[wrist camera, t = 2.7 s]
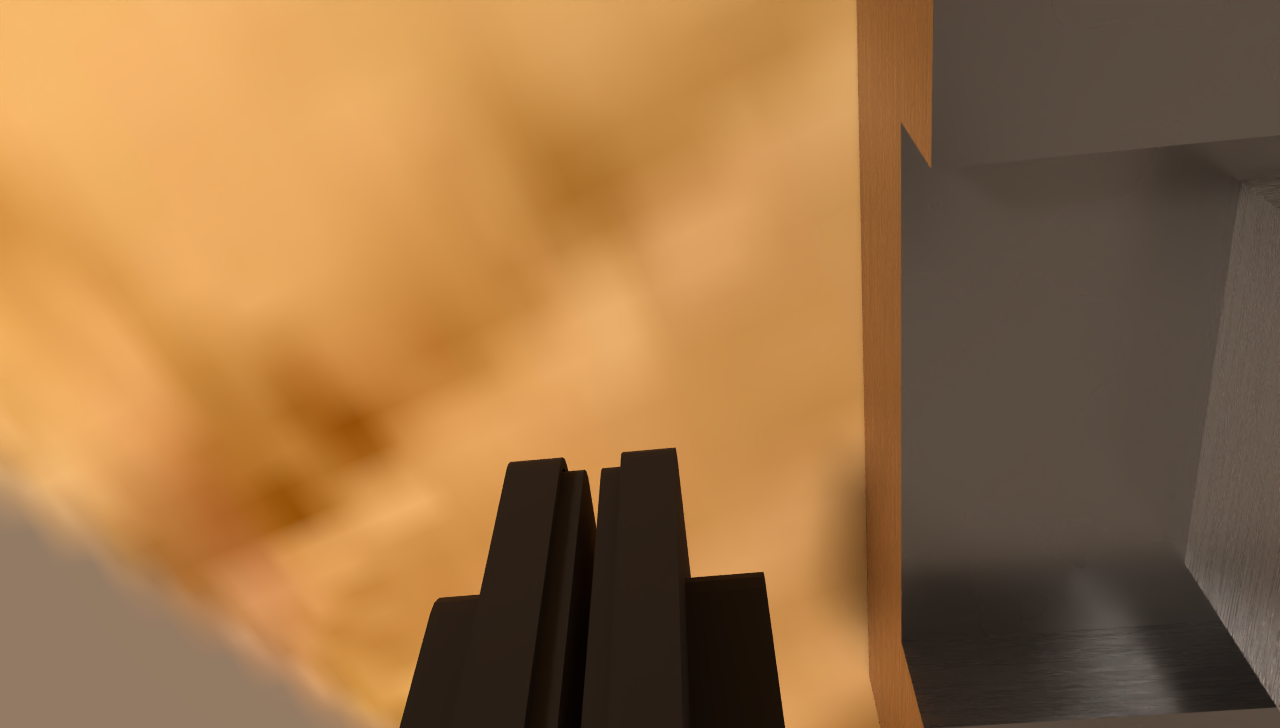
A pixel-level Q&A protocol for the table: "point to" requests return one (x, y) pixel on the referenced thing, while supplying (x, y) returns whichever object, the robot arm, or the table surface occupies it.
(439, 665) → the robot arm
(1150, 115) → the slotted ledge
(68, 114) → the table surface
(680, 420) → the table surface
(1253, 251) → the tan square block
